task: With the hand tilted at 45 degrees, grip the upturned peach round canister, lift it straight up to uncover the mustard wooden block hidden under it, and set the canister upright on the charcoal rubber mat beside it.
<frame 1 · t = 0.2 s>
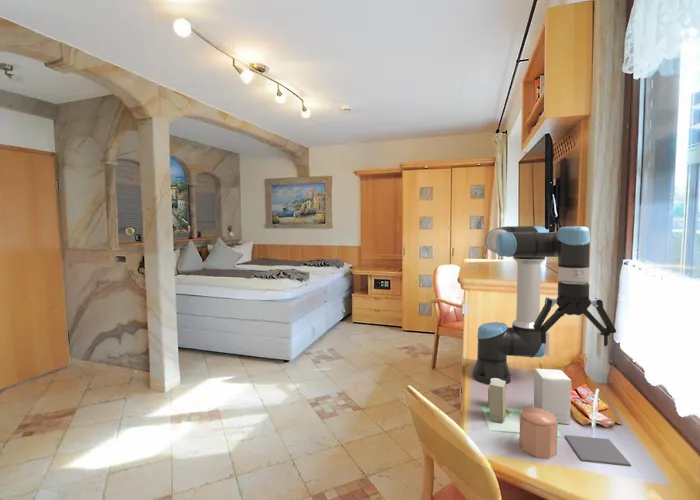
hand: (572, 355, 103), 28 cm above the table, tool pointing down, fingers open, 13 cm apart
mustard block: (537, 442, 106), in the peach round canister
peach round canister: (537, 448, 106), on the table
supplement bottle: (495, 407, 131), on the table
supplement box: (551, 417, 123), on the table
rubber mat: (595, 450, 105), on the table
skincare box: (497, 418, 123), on the table
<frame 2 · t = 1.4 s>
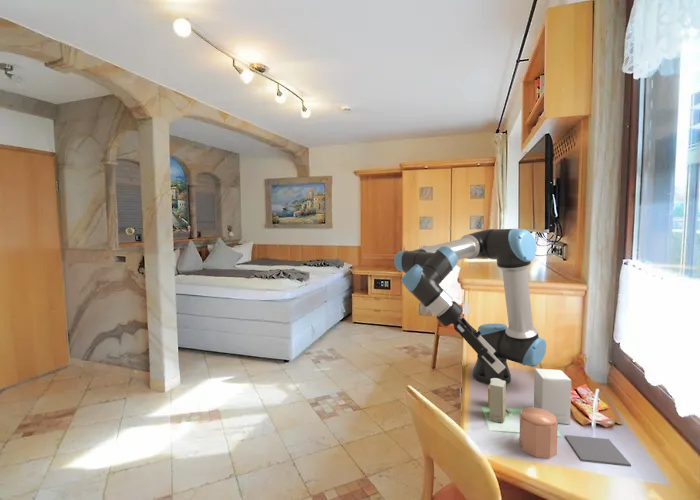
hand: (496, 361, 106), 25 cm above the table, tool tilted 45°, fingers open, 13 cm apart
nothing on the table moved.
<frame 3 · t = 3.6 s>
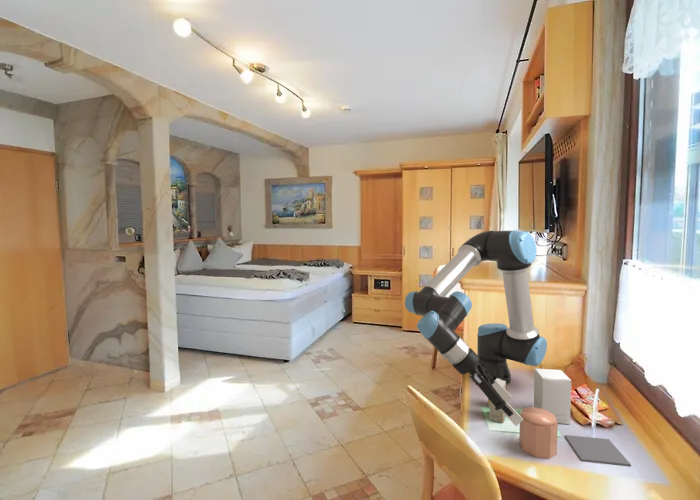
hand: (513, 410, 106), 11 cm above the table, tool tilted 45°, fingers open, 13 cm apart
nothing on the table moved.
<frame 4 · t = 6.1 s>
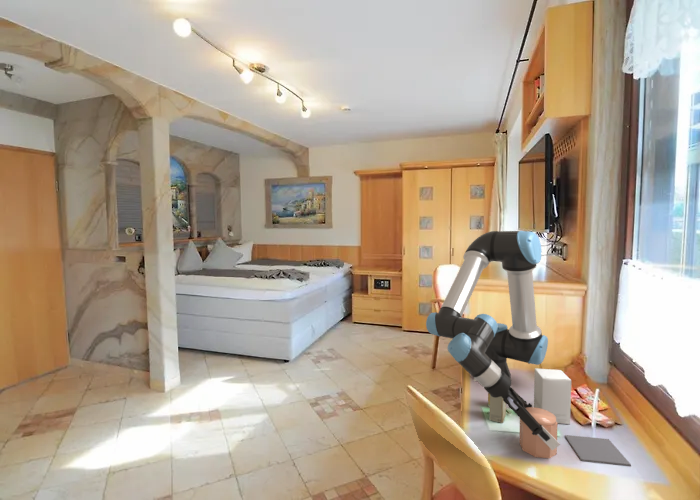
hand: (549, 436, 105), 4 cm above the table, tool tilted 45°, fingers closed on peach round canister, 9 cm apart
peach round canister: (537, 448, 106), on the table, touching gripper
everything else where it was.
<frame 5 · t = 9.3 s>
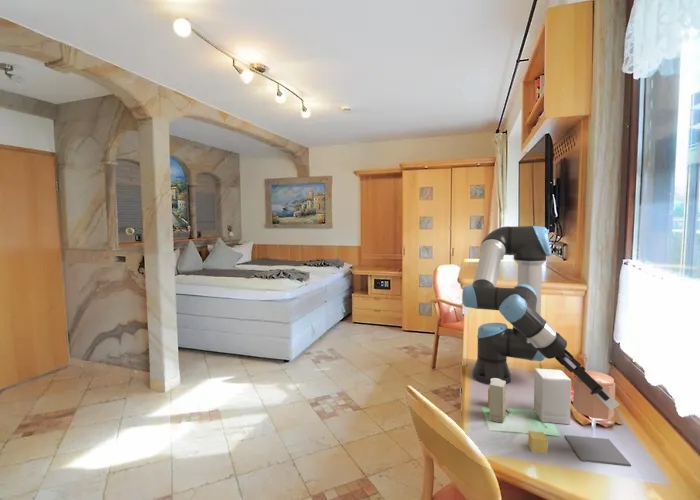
hand: (606, 398, 103), 16 cm above the table, tool tilted 45°, fingers closed on peach round canister, 9 cm apart
peach round canister: (593, 410, 104), point 12 cm above the table, touching gripper
everything else where it was.
when the fingers open (6 cm above the table, at t = 12.3 s): peach round canister drops 1 cm, resting on rubber mat.
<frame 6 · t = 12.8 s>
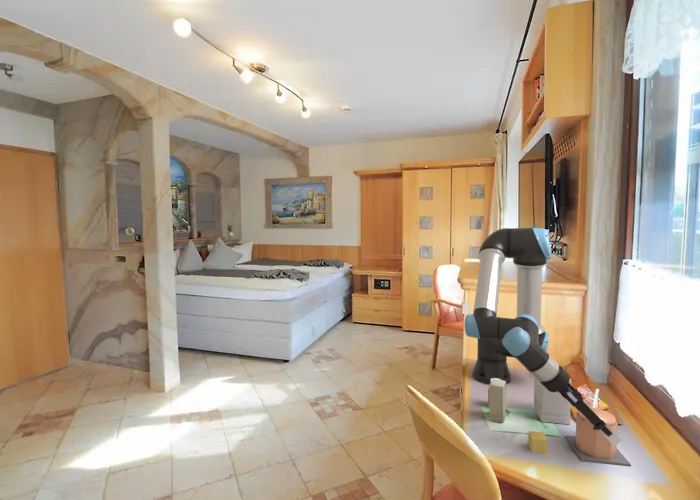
hand: (605, 428, 104), 7 cm above the table, tool tilted 45°, fingers open, 13 cm apart
peach round canister: (595, 448, 105), resting on rubber mat
everything else where it was.
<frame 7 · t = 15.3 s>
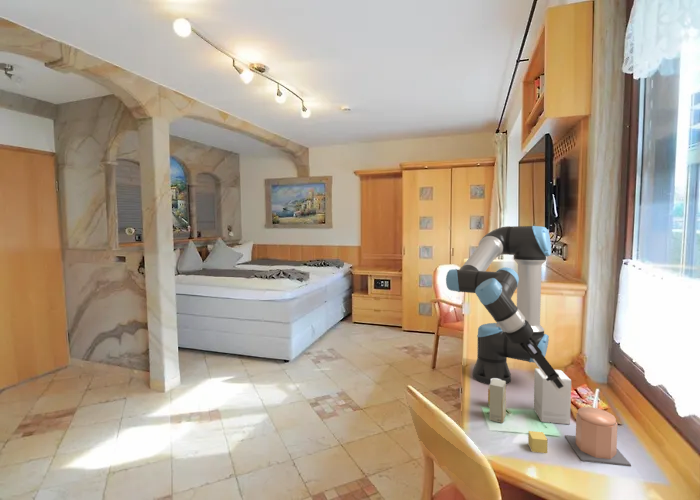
hand: (557, 383, 108), 18 cm above the table, tool tilted 35°, fingers open, 13 cm apart
nothing on the table moved.
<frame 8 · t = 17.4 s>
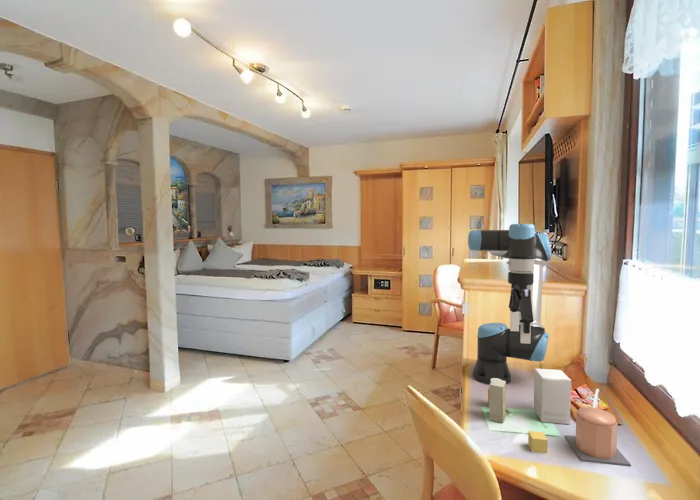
hand: (519, 336, 118), 29 cm above the table, tool pointing down, fingers open, 13 cm apart
nothing on the table moved.
at the end: peach round canister inside the target area (0.1 cm from its centre), point 0.5 cm above the table; peach round canister tilted 0°; the gripper is holding nothing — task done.
